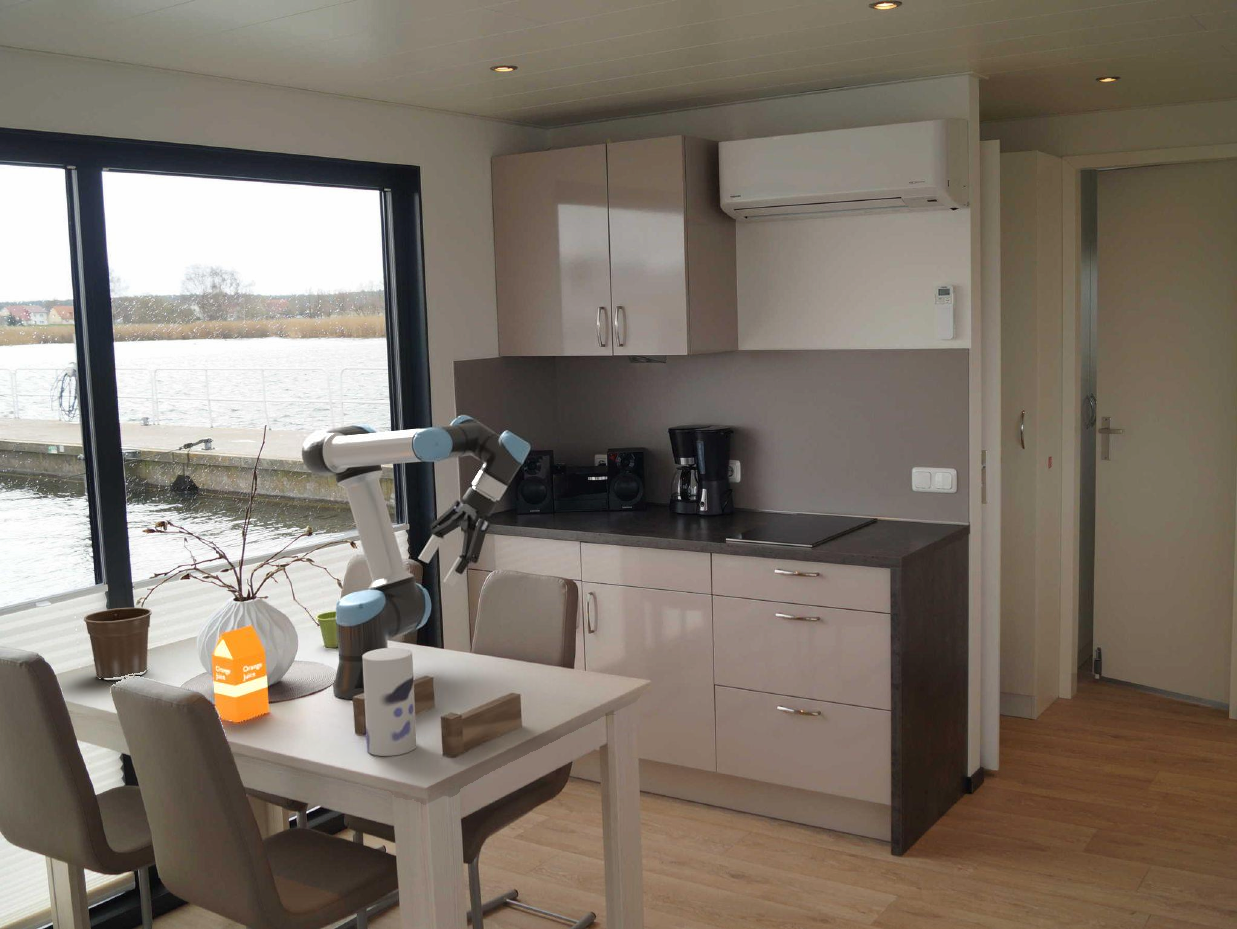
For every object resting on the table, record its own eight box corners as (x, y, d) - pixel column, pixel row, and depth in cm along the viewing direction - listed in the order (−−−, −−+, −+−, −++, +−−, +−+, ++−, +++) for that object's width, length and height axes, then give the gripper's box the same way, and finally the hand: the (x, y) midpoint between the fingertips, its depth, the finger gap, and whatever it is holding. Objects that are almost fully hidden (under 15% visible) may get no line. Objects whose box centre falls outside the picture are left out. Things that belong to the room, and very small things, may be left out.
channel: (354, 733, 244) (352, 696, 243) (426, 705, 262) (424, 671, 261) (453, 757, 227) (451, 718, 227) (522, 726, 245) (521, 689, 244)
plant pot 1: (155, 662, 307) (150, 604, 305) (158, 677, 292) (153, 616, 291) (89, 671, 300) (83, 611, 299) (88, 687, 286) (83, 624, 284)
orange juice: (215, 717, 258) (209, 631, 256) (248, 706, 265) (241, 623, 263) (237, 723, 254) (231, 635, 251) (270, 712, 261) (263, 626, 259)
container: (397, 759, 227) (392, 661, 225) (357, 753, 231) (352, 657, 230) (426, 743, 236) (421, 649, 234) (386, 737, 240) (382, 645, 239)
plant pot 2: (343, 650, 313) (341, 619, 312) (312, 649, 315) (310, 618, 314) (358, 641, 322) (356, 611, 321) (327, 640, 324) (325, 610, 323)
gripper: (521, 519, 255) (471, 599, 255) (471, 482, 275) (424, 557, 274) (498, 506, 251) (447, 588, 250) (448, 469, 270) (401, 545, 269)
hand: (435, 572), depth 262 cm, fingers open, 13 cm apart
